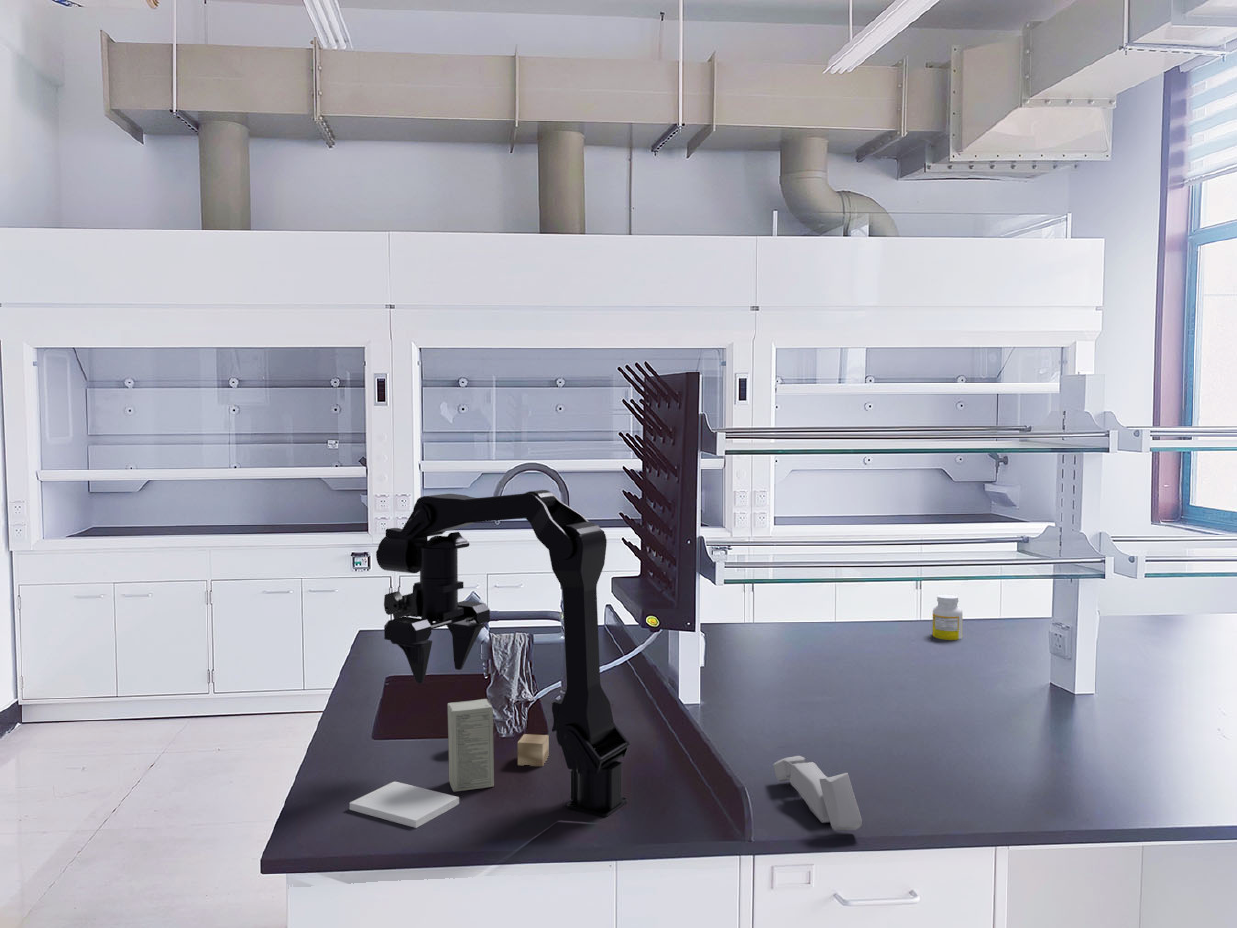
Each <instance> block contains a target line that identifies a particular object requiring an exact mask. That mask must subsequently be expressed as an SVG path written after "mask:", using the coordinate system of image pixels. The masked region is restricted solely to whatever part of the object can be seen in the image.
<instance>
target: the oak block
mask: <svg viewBox="0 0 1237 928" xmlns="http://www.w3.org/2000/svg"><path fill="white" fill-rule="evenodd" d="M549 736H550V735H547V734H533V733H532V734H531V733H530V734H529V733H523V735H522V736H521V737H520V739H519V740H518V741H517V766H524V765H530V766H529V767H541V766H543V767H544V765H545V764H546V762H547V760H548V759H549V757H548V756H550V754H549V752H550V749H549V747H550V746H549V738H550V737H549ZM547 758H548V759H547ZM545 761H546V762H545ZM544 763H545V764H544Z"/></svg>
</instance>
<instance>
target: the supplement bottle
mask: <svg viewBox="0 0 1237 928" xmlns="http://www.w3.org/2000/svg"><path fill="white" fill-rule="evenodd" d="M936 601H937V605H936V606H935V607H933V608H932V629H931V630H932V636H933V637H934V638H936V639H939V640H946V641H947V640H948V641H954V640H955V641H957V640H961V639H963V617H964V616H963V610H962V609H961V607H959V606H958V604H959V603H958V602H959V596H957V595H953V594H951V595H950V594H937V596H936Z"/></svg>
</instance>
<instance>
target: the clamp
mask: <svg viewBox="0 0 1237 928" xmlns="http://www.w3.org/2000/svg"><path fill="white" fill-rule="evenodd" d="M773 769H774V772H775V773H774V775H775V778H776V780H777V781H778V782H780V783H781V782H786V781H790V785H791V786H792V787H793V788H794V789H795V790H796V792H798V793H799V795H800V796H801V797H802V799H803V800H804V802H805V803H806V805H807V806H808V809H809V811H810V812H811V813H812V814H813V815H814V816H815V817H816V818H817V819H818V820H819V822H820V823H821V824H826V823H827V824H828V823H830V827H831V828H832V830H833V831H835V832H838V831H839V832H840V831H853V830H855V831H856V830H858V829H859V828H860V827H861V828H862V822H863V819H862V816H861V813H860V810H859V805H858V802H857V800H856V797H855V793H854V790H853V787H852V783H851V779H850V776H849V773H848V772H844V773H840V774H837V775H833V776H829V777H828V776H827V775H825V774H824V772H823V771H822V770H821V769H820V767H818V765H817V764H816V763H815V762H813V761H810V762H806V758H805V757H803V756H801V755H794V756H790V757H789V756H788V757H784V758H782V759H779V760H777V761H776V762H775V763H773Z"/></svg>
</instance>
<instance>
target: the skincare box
mask: <svg viewBox="0 0 1237 928" xmlns="http://www.w3.org/2000/svg"><path fill="white" fill-rule="evenodd" d="M493 715H494V714H493V705H492V704H491V702H490V701H489V699H487V698H481V699H474V700H472V699H471V700H464V701H455V702H448V703H447V734H448V735H447V737H448V740H447V741H448V779H449V781H448V782H449V784H450V787H451V790H452V792H454V793H455V792H462V791H463V792H464V791H469V790H476V789H477V790H479V789H485V788H486V789H487V788H491V787H494V785H495V775H494V774H495V773H494V771H495V769H494V768H495V767H494V721H493V719H494V718H493Z"/></svg>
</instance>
